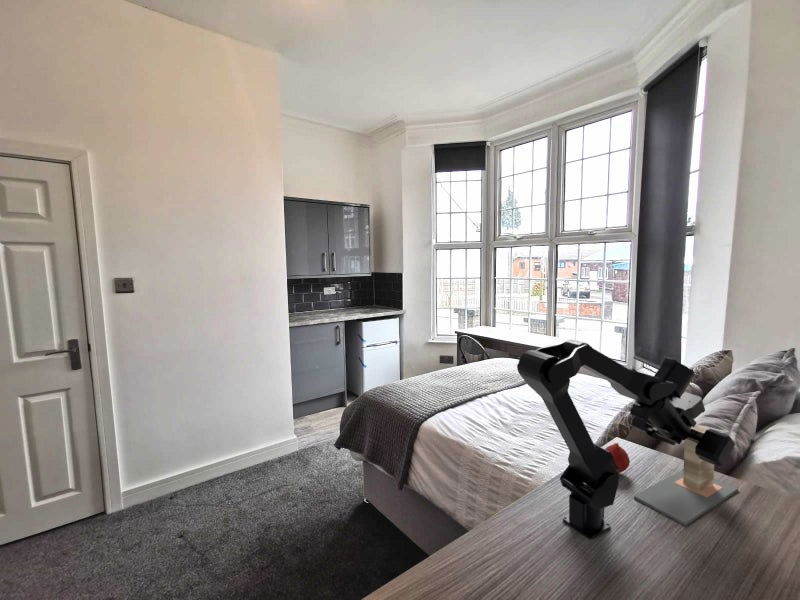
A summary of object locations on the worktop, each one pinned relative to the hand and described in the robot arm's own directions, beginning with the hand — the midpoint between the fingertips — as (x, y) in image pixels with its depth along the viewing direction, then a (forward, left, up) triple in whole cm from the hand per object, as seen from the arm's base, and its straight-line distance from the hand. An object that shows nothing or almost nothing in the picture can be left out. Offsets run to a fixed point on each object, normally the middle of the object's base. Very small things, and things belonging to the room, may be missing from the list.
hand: (695, 452), depth 84 cm
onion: (-9, +13, -9) cm, 18 cm away
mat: (-4, 0, -9) cm, 9 cm away
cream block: (+1, 0, -8) cm, 8 cm away
